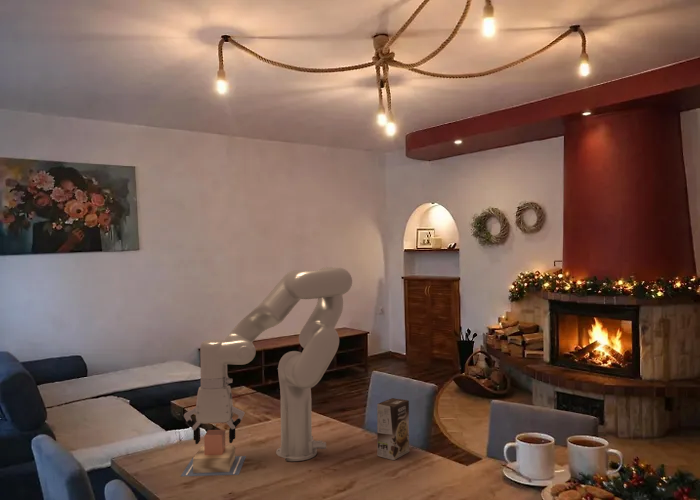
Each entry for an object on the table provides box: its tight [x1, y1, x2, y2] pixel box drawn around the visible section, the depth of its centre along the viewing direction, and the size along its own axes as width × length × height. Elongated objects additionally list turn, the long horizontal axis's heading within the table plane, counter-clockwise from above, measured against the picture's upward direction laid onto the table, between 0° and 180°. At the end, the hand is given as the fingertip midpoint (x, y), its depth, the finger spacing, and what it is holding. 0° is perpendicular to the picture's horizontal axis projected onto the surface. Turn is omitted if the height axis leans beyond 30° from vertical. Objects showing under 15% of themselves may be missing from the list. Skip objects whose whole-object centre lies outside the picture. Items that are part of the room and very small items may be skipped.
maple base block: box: [192, 444, 236, 473], centre depth 158 cm, size 10×10×4 cm
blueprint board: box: [180, 455, 247, 477], centre depth 158 cm, size 16×14×1 cm
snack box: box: [376, 397, 410, 461], centre depth 168 cm, size 9×6×16 cm
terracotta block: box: [203, 429, 226, 455], centre depth 158 cm, size 5×5×6 cm
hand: (214, 442), depth 158 cm, fingers open, 9 cm apart
